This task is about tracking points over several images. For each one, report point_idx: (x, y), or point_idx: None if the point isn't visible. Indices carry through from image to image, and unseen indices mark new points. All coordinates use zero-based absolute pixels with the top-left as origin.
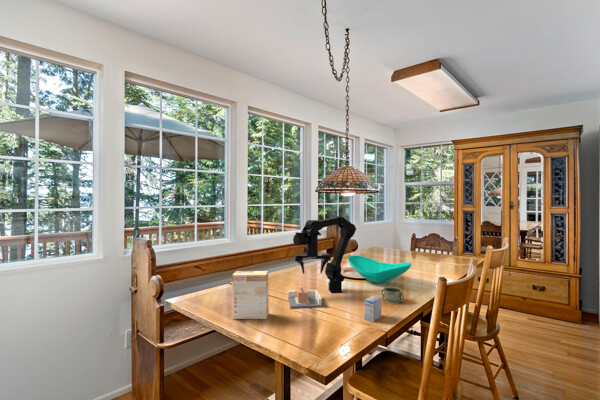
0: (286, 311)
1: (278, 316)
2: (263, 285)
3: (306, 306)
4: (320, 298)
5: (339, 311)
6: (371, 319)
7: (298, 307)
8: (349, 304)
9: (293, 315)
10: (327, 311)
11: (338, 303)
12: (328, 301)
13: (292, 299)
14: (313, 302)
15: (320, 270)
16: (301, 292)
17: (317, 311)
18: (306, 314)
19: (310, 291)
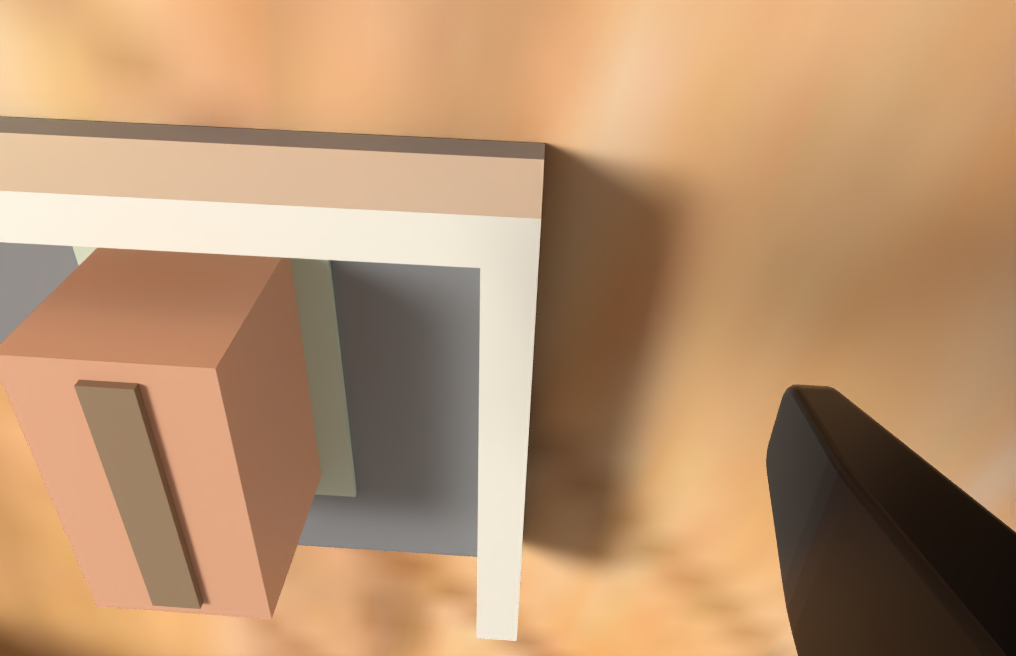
0: (62, 564)
1: (7, 642)
2: None
3: (306, 536)
4: (503, 626)
5: (706, 652)
6: None
7: None
8: None
9: (165, 648)
10: (564, 633)
11: None
12: (703, 370)
13: (44, 296)
14: (417, 465)
15: (828, 488)
16: (152, 604)
17: (443, 616)
18: (308, 651)
19: (373, 254)
